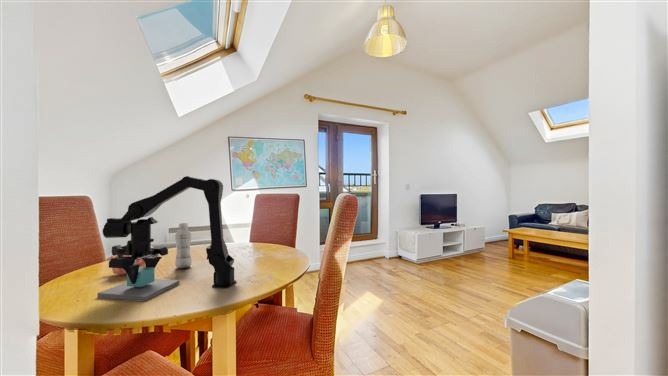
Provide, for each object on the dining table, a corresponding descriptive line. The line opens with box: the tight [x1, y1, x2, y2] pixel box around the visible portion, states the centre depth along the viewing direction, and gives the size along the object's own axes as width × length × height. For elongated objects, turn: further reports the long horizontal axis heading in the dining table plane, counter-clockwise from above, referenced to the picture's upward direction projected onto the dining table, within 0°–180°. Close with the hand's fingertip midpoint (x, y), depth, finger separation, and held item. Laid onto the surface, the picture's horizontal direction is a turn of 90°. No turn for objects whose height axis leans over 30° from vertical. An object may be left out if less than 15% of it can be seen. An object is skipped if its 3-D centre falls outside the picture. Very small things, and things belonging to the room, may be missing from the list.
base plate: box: [97, 278, 180, 302], centre depth 94 cm, size 18×15×2 cm
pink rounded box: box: [109, 255, 145, 277], centre depth 112 cm, size 12×12×10 cm
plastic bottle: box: [174, 222, 192, 269], centre depth 120 cm, size 6×7×20 cm
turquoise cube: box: [126, 267, 155, 287], centre depth 94 cm, size 6×6×5 cm
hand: (141, 280), depth 94 cm, fingers closed on turquoise cube, 5 cm apart
